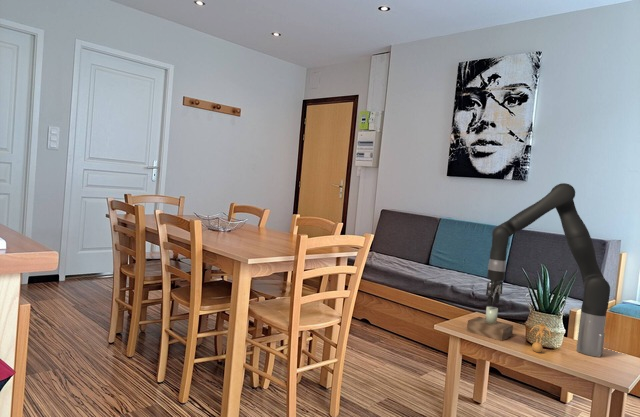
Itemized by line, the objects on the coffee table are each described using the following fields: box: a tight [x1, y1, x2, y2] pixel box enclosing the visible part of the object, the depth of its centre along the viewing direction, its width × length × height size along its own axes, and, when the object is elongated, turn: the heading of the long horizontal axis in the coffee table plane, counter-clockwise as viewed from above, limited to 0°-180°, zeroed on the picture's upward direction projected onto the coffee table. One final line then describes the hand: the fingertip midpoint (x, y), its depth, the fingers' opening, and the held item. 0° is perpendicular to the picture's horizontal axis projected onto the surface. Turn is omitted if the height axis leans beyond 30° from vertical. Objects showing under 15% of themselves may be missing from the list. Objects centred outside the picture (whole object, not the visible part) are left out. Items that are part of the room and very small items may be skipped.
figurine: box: [529, 322, 552, 353], centre depth 187 cm, size 8×6×12 cm
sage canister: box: [484, 305, 499, 324], centre depth 208 cm, size 5×5×7 cm
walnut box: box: [466, 316, 514, 342], centre depth 208 cm, size 16×14×5 cm
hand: (493, 304), depth 208 cm, fingers open, 8 cm apart
